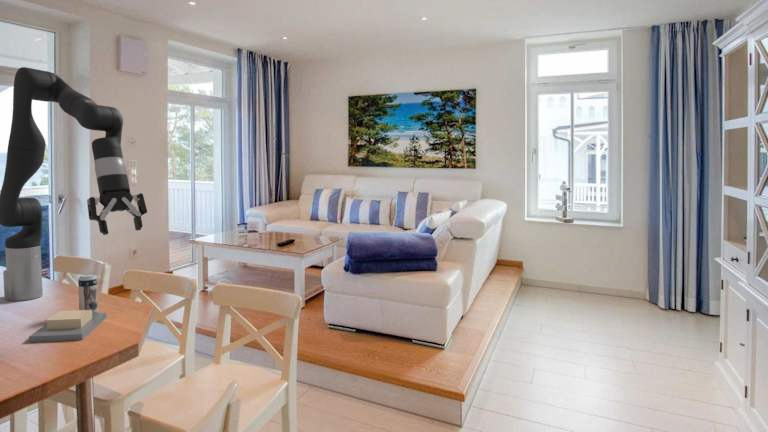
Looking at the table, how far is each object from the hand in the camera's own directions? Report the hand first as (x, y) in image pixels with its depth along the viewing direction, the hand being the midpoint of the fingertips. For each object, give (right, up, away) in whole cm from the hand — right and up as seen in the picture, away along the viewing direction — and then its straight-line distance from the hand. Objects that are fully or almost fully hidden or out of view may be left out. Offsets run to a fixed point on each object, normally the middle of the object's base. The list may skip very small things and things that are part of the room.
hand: (122, 232), depth 128 cm
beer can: (-17, -25, +11) cm, 32 cm away
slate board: (-13, -27, -1) cm, 30 cm away
